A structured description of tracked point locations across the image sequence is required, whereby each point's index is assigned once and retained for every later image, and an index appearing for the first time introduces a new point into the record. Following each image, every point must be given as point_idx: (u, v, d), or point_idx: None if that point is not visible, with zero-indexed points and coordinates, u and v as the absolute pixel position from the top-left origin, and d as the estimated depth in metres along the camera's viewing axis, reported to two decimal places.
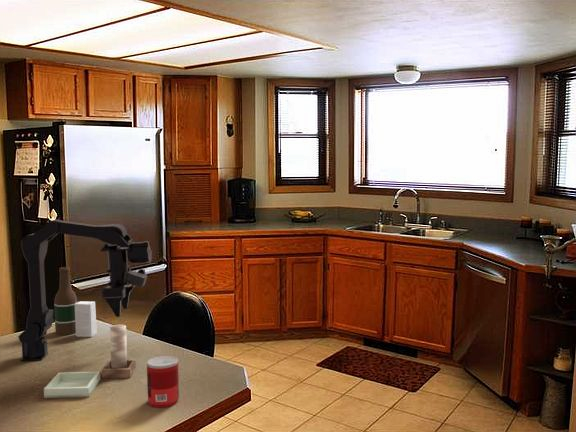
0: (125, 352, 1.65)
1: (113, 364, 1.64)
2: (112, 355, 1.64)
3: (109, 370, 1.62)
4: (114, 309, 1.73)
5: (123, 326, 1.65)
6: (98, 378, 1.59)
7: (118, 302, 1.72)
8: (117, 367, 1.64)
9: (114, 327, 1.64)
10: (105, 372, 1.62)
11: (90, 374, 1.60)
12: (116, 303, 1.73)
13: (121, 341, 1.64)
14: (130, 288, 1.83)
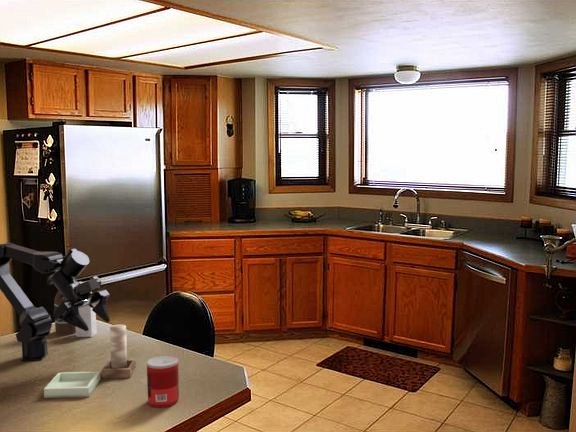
0: (125, 352, 1.65)
1: (113, 364, 1.64)
2: (112, 355, 1.64)
3: (109, 370, 1.62)
4: (79, 325, 1.64)
5: (123, 326, 1.65)
6: (98, 378, 1.59)
7: (75, 316, 1.63)
8: (117, 367, 1.64)
9: (114, 327, 1.64)
10: (105, 372, 1.62)
11: (90, 374, 1.60)
12: (76, 319, 1.64)
13: (121, 341, 1.64)
14: (101, 301, 1.73)
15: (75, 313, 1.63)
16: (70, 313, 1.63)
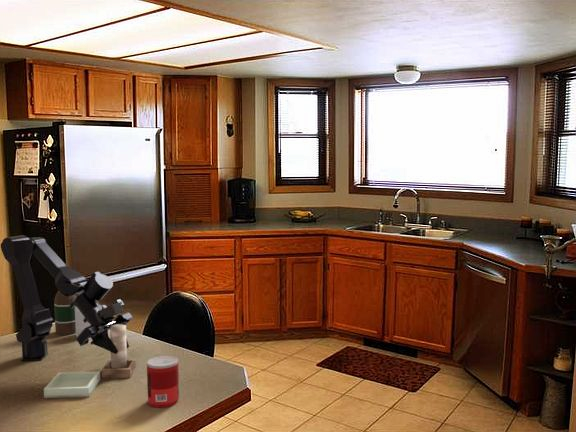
0: (125, 352, 1.65)
1: (113, 364, 1.64)
2: (112, 355, 1.64)
3: (109, 370, 1.62)
4: (108, 348, 1.63)
5: (123, 326, 1.65)
6: (98, 378, 1.59)
7: (105, 339, 1.62)
8: (117, 367, 1.64)
9: (114, 327, 1.64)
10: (105, 372, 1.62)
11: (90, 374, 1.60)
12: (105, 341, 1.63)
13: (121, 341, 1.64)
14: None
15: (105, 336, 1.62)
16: (100, 336, 1.62)
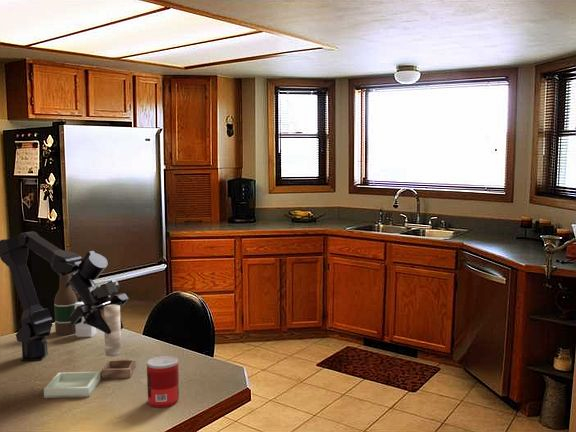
0: (119, 333, 1.63)
1: (106, 344, 1.62)
2: (105, 335, 1.62)
3: (109, 370, 1.62)
4: (101, 328, 1.60)
5: (117, 306, 1.63)
6: (98, 378, 1.59)
7: (98, 319, 1.60)
8: (110, 347, 1.61)
9: (108, 307, 1.62)
10: (105, 372, 1.62)
11: (90, 374, 1.60)
12: (98, 321, 1.60)
13: (115, 322, 1.61)
14: None
15: (97, 316, 1.60)
16: (92, 315, 1.60)
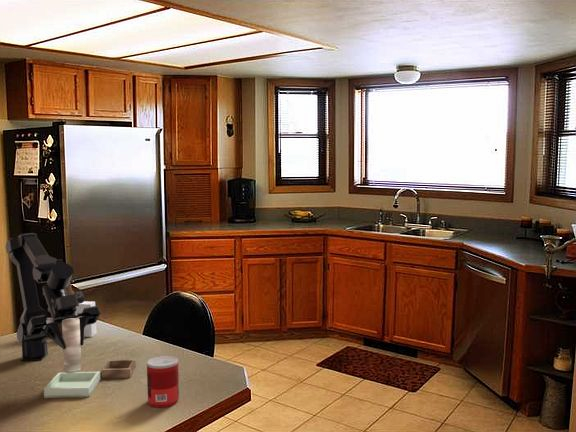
0: (75, 349, 1.52)
1: (63, 360, 1.53)
2: (63, 350, 1.53)
3: (109, 370, 1.62)
4: (57, 342, 1.52)
5: (75, 321, 1.53)
6: (98, 378, 1.59)
7: None
8: (66, 364, 1.52)
9: (66, 320, 1.53)
10: (105, 372, 1.62)
11: (90, 374, 1.60)
12: (55, 335, 1.52)
13: (70, 337, 1.51)
14: None
15: (53, 329, 1.51)
16: (49, 328, 1.52)
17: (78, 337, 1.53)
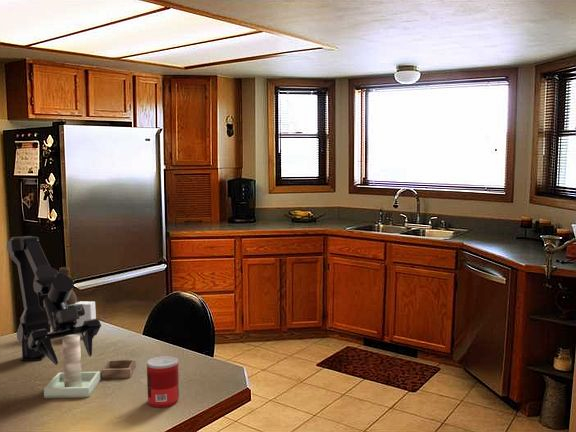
0: (76, 365, 1.53)
1: (64, 376, 1.53)
2: None
3: (109, 370, 1.62)
4: (50, 357, 1.51)
5: (75, 337, 1.53)
6: (98, 378, 1.59)
7: None
8: (67, 380, 1.53)
9: (66, 337, 1.53)
10: (105, 372, 1.62)
11: (90, 374, 1.60)
12: (47, 350, 1.51)
13: (71, 354, 1.52)
14: (87, 331, 1.58)
15: (45, 344, 1.50)
16: (41, 343, 1.51)
17: (78, 353, 1.53)
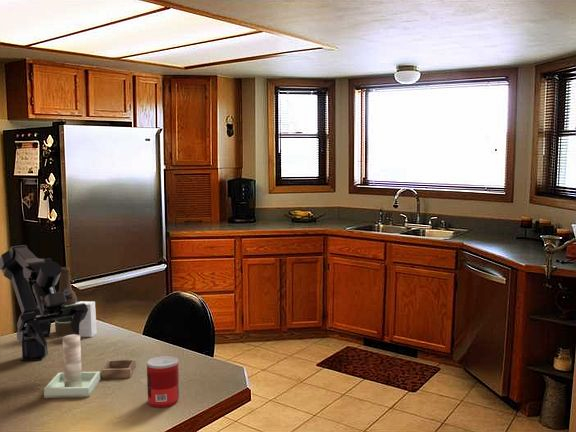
0: (76, 366, 1.53)
1: (64, 376, 1.53)
2: None
3: (109, 370, 1.62)
4: (38, 339, 1.57)
5: (76, 337, 1.53)
6: (98, 378, 1.59)
7: None
8: (67, 380, 1.53)
9: (66, 337, 1.53)
10: (105, 372, 1.62)
11: (90, 374, 1.60)
12: (36, 332, 1.58)
13: (71, 354, 1.52)
14: (74, 315, 1.65)
15: (34, 326, 1.57)
16: (30, 325, 1.57)
17: (79, 354, 1.53)
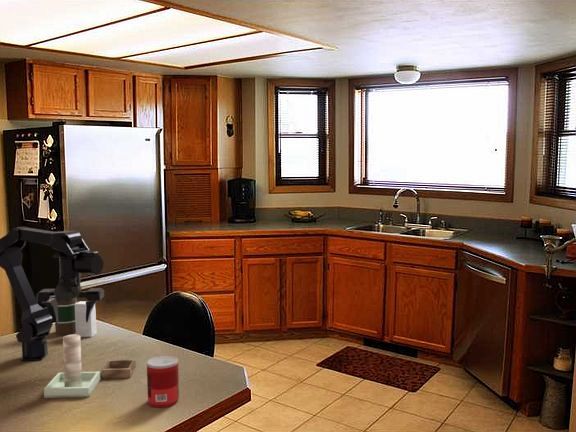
0: (76, 365, 1.53)
1: (64, 376, 1.53)
2: (64, 366, 1.53)
3: (109, 370, 1.62)
4: None
5: (76, 337, 1.53)
6: (98, 378, 1.59)
7: None
8: (67, 380, 1.53)
9: (67, 337, 1.53)
10: (105, 372, 1.62)
11: (90, 374, 1.60)
12: None
13: (71, 353, 1.52)
14: None
15: (48, 306, 1.70)
16: None
17: (79, 353, 1.53)
